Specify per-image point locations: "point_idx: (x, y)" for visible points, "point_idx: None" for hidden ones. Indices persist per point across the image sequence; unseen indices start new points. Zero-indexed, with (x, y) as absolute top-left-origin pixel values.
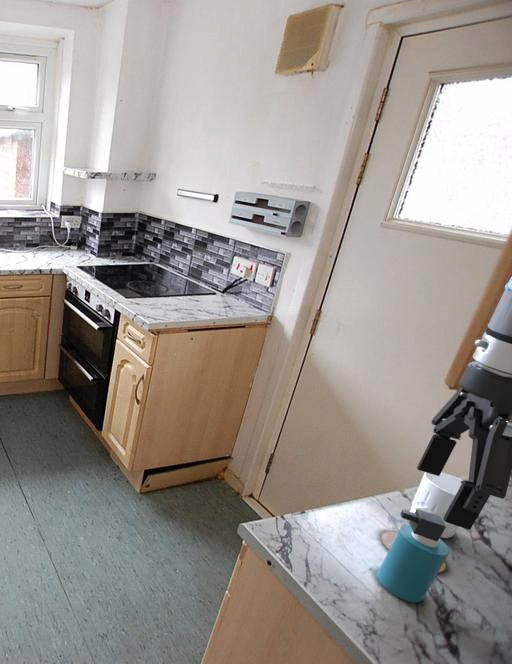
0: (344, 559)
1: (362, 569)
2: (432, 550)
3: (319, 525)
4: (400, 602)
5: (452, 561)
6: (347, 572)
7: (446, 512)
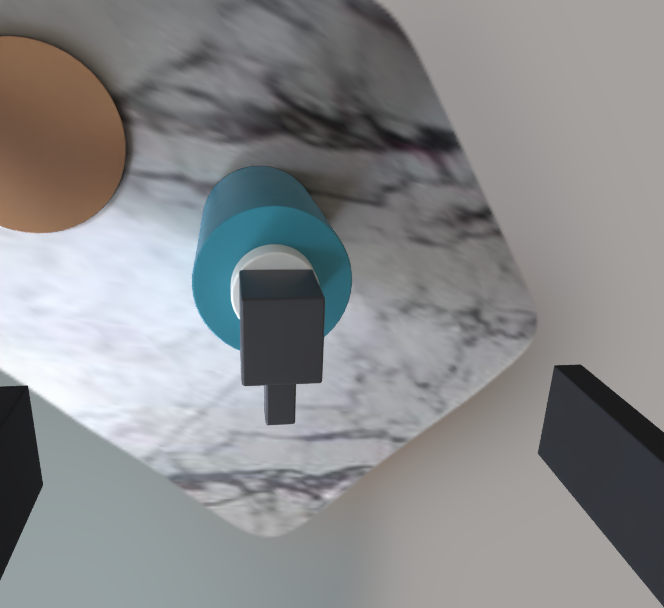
0: (236, 351)
1: None
2: (333, 271)
3: (108, 405)
4: None
5: None
6: None
7: (561, 478)
